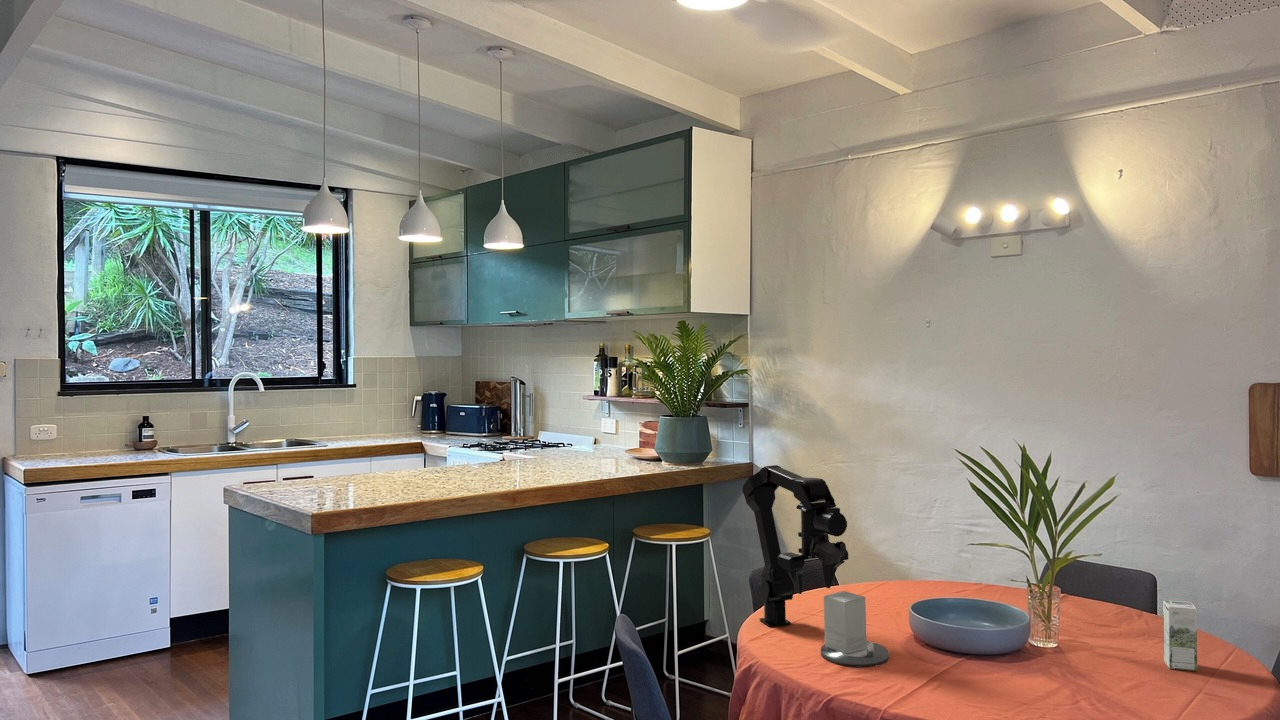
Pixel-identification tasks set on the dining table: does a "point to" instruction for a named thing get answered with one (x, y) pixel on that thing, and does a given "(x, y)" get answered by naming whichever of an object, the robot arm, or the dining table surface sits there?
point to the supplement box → (845, 622)
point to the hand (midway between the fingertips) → (814, 590)
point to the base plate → (858, 656)
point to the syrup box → (1180, 635)
